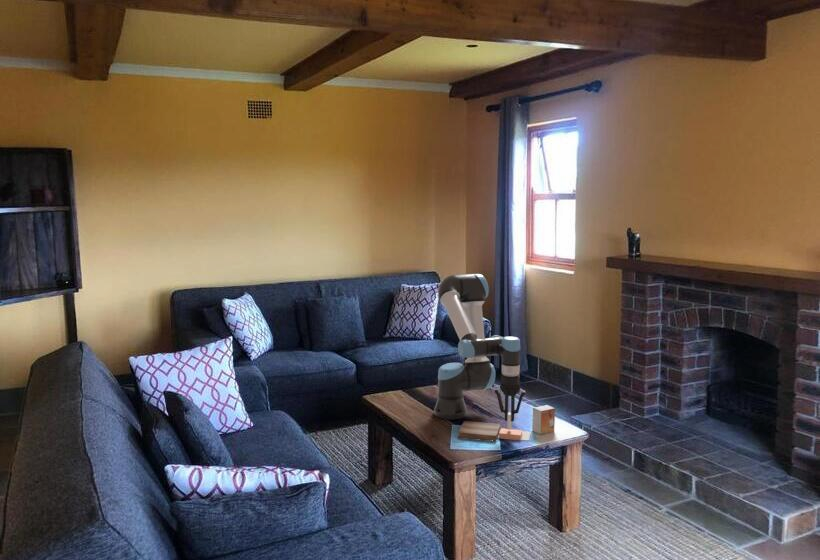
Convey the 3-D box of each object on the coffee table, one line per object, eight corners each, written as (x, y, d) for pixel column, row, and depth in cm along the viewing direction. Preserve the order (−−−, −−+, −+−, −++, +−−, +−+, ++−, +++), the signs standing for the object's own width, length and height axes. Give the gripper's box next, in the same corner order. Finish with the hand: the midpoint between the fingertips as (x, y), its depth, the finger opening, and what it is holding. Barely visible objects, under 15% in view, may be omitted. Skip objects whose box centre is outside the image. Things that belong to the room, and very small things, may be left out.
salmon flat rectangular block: (499, 437, 278) (499, 433, 277) (501, 432, 283) (501, 428, 283) (520, 439, 275) (520, 435, 275) (522, 434, 281) (522, 430, 281)
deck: (464, 426, 292) (464, 420, 291) (500, 429, 288) (500, 424, 287) (458, 437, 278) (458, 432, 278) (496, 441, 274) (496, 435, 274)
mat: (500, 429, 288) (500, 429, 288) (530, 432, 284) (530, 431, 284) (497, 438, 278) (497, 437, 278) (528, 441, 275) (528, 440, 275)
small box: (540, 435, 281) (540, 411, 280) (531, 430, 286) (532, 407, 285) (554, 431, 285) (555, 408, 284) (546, 427, 290) (546, 404, 289)
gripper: (493, 375, 274) (492, 430, 277) (525, 377, 271) (524, 432, 274) (495, 370, 281) (495, 423, 285) (527, 372, 278) (525, 426, 281)
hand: (509, 428), depth 279 cm, fingers closed
